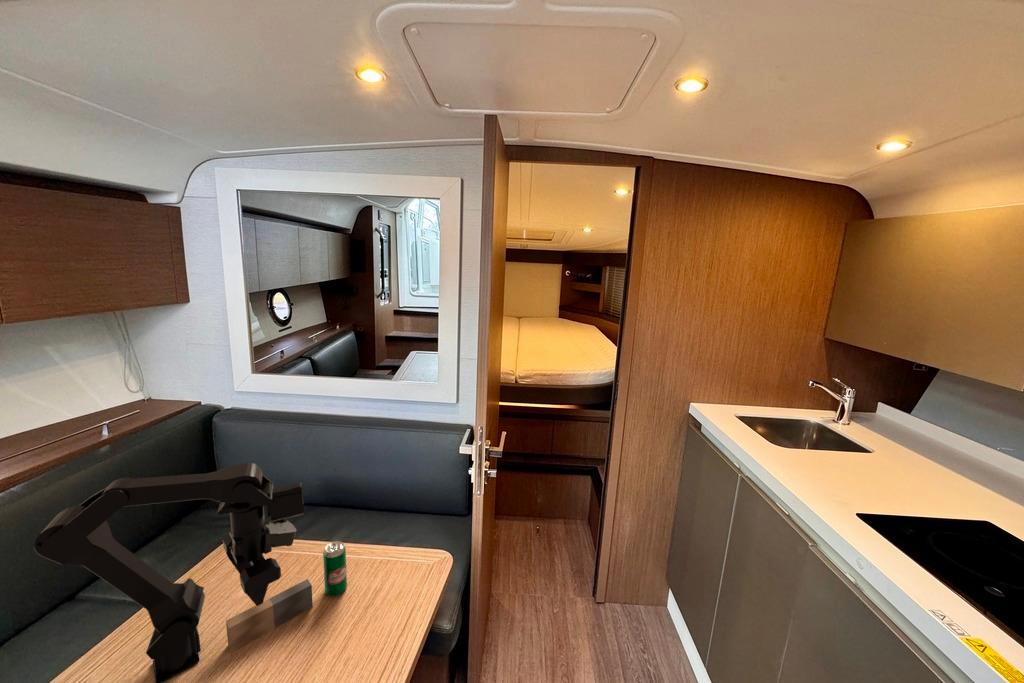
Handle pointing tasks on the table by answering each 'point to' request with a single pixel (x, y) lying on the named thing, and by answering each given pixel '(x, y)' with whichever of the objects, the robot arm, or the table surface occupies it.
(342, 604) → the table surface
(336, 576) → the soda can
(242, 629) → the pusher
